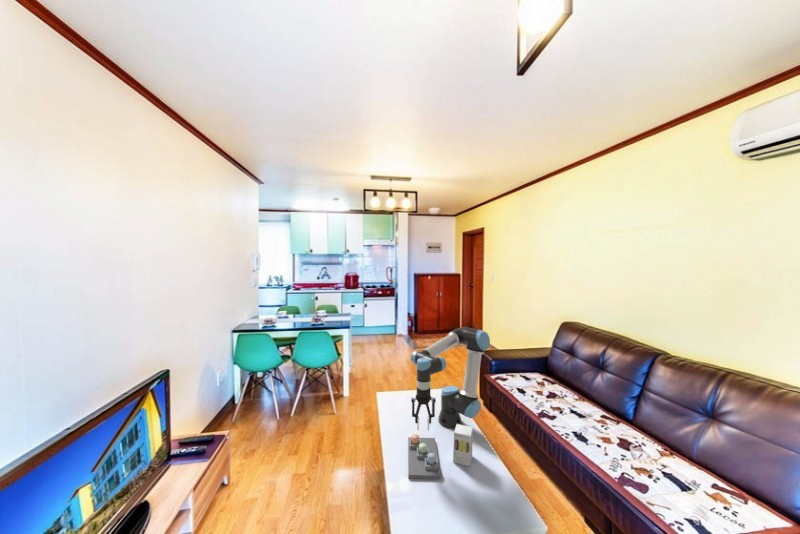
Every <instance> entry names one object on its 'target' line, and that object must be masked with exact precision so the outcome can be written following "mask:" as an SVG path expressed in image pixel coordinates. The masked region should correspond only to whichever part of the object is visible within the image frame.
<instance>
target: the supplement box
mask: <svg viewBox="0 0 800 534" xmlns="http://www.w3.org/2000/svg"><path fill="white" fill-rule="evenodd" d="M473 428H474V427H473V426H468V425H465V424H461V425H460V424H457V425H456V428H454V433H453V451H452V452H453V453H452V457H453V458H452V463H455V464H459V465H463V466H466V467H471V465H472V460H473V441H474V440H473V439H474V438H473V437H474V429H473Z"/></svg>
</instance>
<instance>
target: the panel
mask: <svg viewBox="0 0 800 534" xmlns="http://www.w3.org/2000/svg"><path fill="white" fill-rule="evenodd" d="M407 441H408V442H407V443H408V444H407V447H408V448H407V450H408V451H407V453H408V455H407V456H408V457H407V460H408V465H407V466H408V468H407V469H408V470H407V471H408V472H407V473H408V475H407V476H408V479H409V480H410V479H414V480H418V479H419V480H441V471H440V465H439V456H438V451H437V444H436V443H437V442H436V438H435V437H419V444H420V443H425V444H426V445H427V453H426V454H420V453H419V444H417V445H414V444H412V443H411V437H408V439H407ZM428 453H434V454H435V455H436V463H435V464H434V465H429V464H428V463H427V454H428Z"/></svg>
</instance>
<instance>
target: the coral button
mask: <svg viewBox="0 0 800 534" xmlns="http://www.w3.org/2000/svg"><path fill="white" fill-rule="evenodd" d="M419 438H420V435H419V434H417V433H413V434H412V435H411V443H412V444H414V445H417V444H419Z"/></svg>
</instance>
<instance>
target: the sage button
mask: <svg viewBox="0 0 800 534" xmlns="http://www.w3.org/2000/svg"><path fill="white" fill-rule="evenodd" d="M419 453H420V454H426V453H427V445H426V444H425V443H420V444H419Z"/></svg>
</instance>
